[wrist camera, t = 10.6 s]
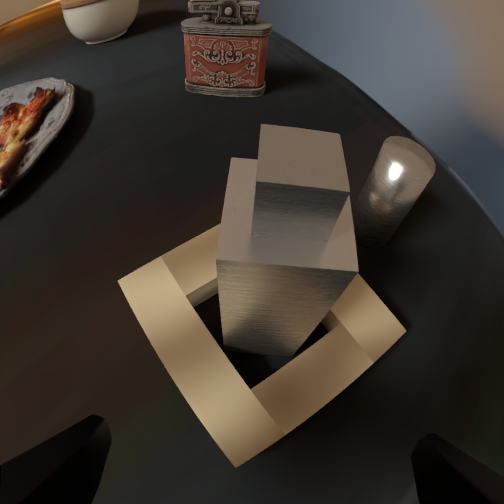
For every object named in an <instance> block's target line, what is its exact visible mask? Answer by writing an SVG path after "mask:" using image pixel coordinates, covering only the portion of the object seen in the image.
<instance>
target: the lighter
mask: <svg viewBox="0 0 504 504" xmlns="http://www.w3.org/2000/svg"><path fill="white" fill-rule="evenodd" d="M188 9H189V12H204V13H203V17H197V18H190V19H186V20H184V21H182V23H181V25H182V31H183V32H184V45H185V62H186V77H187V78H186V79H185V87H186V90H187V91H189V92H194V93H201V94H208V95H218V96H236V97H256V96H260V95H262V94H264V92H265V81H264V76H265V66H266V55H267V45H268V35H269V34H270V33H271V24H270V23H269V22H267V21H262V20H256V18H257V16H258V12H259V3H258V2H252V1H240V0H190V1H189V2H188ZM211 12H218V16H217V17H212V13H211ZM242 13H246V14H247V17H248V18H245V15H244V14H242Z"/></svg>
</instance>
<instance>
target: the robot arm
mask: <svg viewBox="0 0 504 504" xmlns="http://www.w3.org/2000/svg"><path fill="white" fill-rule="evenodd" d="M110 445H111V434H110V430H109V426H108V422H107V419H106V418H104V417H102V416H98V415H94V414H93V415H90V416H88V417H87V418H85V419H83V420H81V421H80V422H78V423H76V424H75V425H73V426H71V427H69V428H68V429H66V430H64V431H62V432H61V433H59V434H57V435H55V436H53V437H52V438H50V439H48V440H46V441H44V442H43V443H41V444H39V445H37V446H35V447H33V448H32V449H30V450H28V451H26V452H24V453H22V454H20V455H19V456H17V457H15V458H13V459H11V460H9V461H7V462H5V463H3V464H2V466H1V465H0V504H92V501H93V499H94V496H95V494H96V492H97V489H98V487H99V484H100V480H101V477H102V473H103V470H104V466H105V462H106V459H107V456H108V452H109V449H110ZM411 461H412V466H413V471H414V477H415V482H416V488H417V494H418V499H419V503H420V504H504V477H503V476H501V475H500V474H498V473H496V472H495V471H493V470H491V469H490V468H488V467H487V466H485V465H483V464H482V463H480V462H479V461H477V460H475V459H474V458H472V457H471V456H469V455H467V454H466V453H464V452H463V451H461V450H460V449H458V448H457V447H455V446H453V445H452V444H450V443H449V442H447V441H446V440H444V439H443V438H441V437H440V436H438V435H437V434H427V435H423V436H422V437H421V438H420V440H419V442H418V443H417V445H416V447H415V449H414V450H413V452H412V456H411Z"/></svg>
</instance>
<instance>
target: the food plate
mask: <svg viewBox="0 0 504 504" xmlns="http://www.w3.org/2000/svg"><path fill="white" fill-rule="evenodd" d="M76 90H77V89H76V87H75V86H74V85H73V84H71V83H68V82H67V81H66V80H64V79H62V80H61V79H60V80H59V79H56V78H54V77H53V78H52V77H50V78H47V79H46V78H44V79H39V80H34V81H30V82H25V83H23V84H20V85H16V86H13V87H11V88H10V87H9V88H6V89H4V90H2V91H1V92H0V115H1V114H3V118H2V120H1V122H0V151H1V149H3V150H2V151H1V152H0V200H1V199H2V198H4V197H5V196H6V195H7V194H8V193H9V191H10V190H11V189H12V188H13V187H14V185H16V184H17V182H19V181H20V180H21V179H22V178H23V177H25V176H26V175H27V174H29V172H30V171H31V169H32V168H33V167H34V165H35V163H36V162H37V161H38V159H39V157H41V155H43V154H44V152H45V151H46V149H47V148H48V147H49V145H50V144H51V143H52V142H53V140H54V139H55V138H56V137H57V135H58V134H59V132H60V131H61V130H62V129H63V128H64V127H65V126H66V125H67V124H68V121H69V119H70V118H71V116H72V113H73V112H74V108H75V107H74V106H75V93H76ZM22 103H23V104H22Z"/></svg>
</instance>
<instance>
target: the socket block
mask: <svg viewBox="0 0 504 504" xmlns="http://www.w3.org/2000/svg"><path fill="white" fill-rule="evenodd" d="M220 227H221V224H219V225H217V226H215V227H213V228H212V229H210V230H208V231H206V232H204V233H202V234H200V235H199V236H197V237H195V238H193V239H191V240H189V241H188V242H186V243H184V244H182V245H180V246H178V247H177V248H175V249H173V250H171V251H169V252H168V253H166V254H164V255H162V256H160V257H159V258H157V259H155V260H153V261H152V262H150V263H148V264H146V265H144V266H143V267H141V268H139V269H137V270H136V271H134V272H132V273H130V274H129V275H127V276H125V277H123V278H122V279H120V280H118V282H119V284H120V286H121V288H122V290H123V292H124V294H125V296H126V298H127V300H128V302H129V304H130V306H131V308H132V310H133V312H134V313H135V315H136V317H137V319H138V321H139V323H140V324H141V326H142V328H143V330H144V332H145V333H146V335H147V337H148V339H149V340H150V342H151V344H152V346H153V347H154V349H155V351H156V353H157V354H158V356H159V358H160V359H161V361H162V363H163V364H164V366H165V367H166V369H167V371H168V372H169V374H170V376H171V377H172V379H173V380H174V382H175V383H176V385H177V387H178V388H179V390H180V391H181V393H182V394H183V396H184V397H185V399H186V400H187V402H188V403H189V405H190V406H191V408H192V409H193V411H194V412H195V414H196V415H197V416H198V418H199V419H200V421H201V422H202V424H203V425H204V426H205V428H206V429H207V431H208V432H209V433H210V435H211V436H212V438H213V439H214V440H215V442H216V443H217V444H218V446H219V447H220V448H221V450H222V451H223V452H224V454H225V455H226V456H227V457H228V459H229V460H230V461H231V463H232V464H233V465H234V466H235V468H236V467H238V466H239V465H241V464H243V463H244V462H246V461H247V460H249V459H251V458H252V457H254V456H255V455H257V454H258V453H260V452H261V451H263V450H264V449H266V448H267V447H269V446H270V445H272V444H273V443H275V442H276V441H278V440H279V439H280V438H282V437H283V436H285V435H286V434H287V433H289V432H290V431H292V430H293V429H294V428H296V427H297V426H298V425H300V424H301V423H302V422H304V421H305V420H306V419H308V418H309V417H310V416H312V415H313V414H314V413H316V412H317V411H318V410H319V409H321V408H322V407H323V406H324V405H326V404H327V403H328V402H329V401H331V400H332V399H333V398H334V397H335V396H337V395H338V394H339V393H340V392H341V391H343V390H344V389H345V388H346V387H347V386H349V385H350V384H351V383H352V382H353V381H354V380H355V379H357V378H358V377H359V376H360V375H361V374H362V373H363V372H364V371H366V370H367V369H368V368H369V367H370V366H371V365H372V364H373V363H374V362H375V361H376V360H377V359H378V358H380V357H381V356H382V355H383V354H384V353H385V352H386V351H387V350H388V349H389V348H390V347H391V346H392V345H393V344H394V343H395V342H396V341H397V340H398V339H399V338H400V337H401V336H402V335H403V334H404V333H405V332H406V330H405V328H404V327H403V326H402V325H401V324H400V322H399V321H398V320H397V319H396V317H395V316H394V315H393V314H392V313H391V311H390V310H389V309H388V308H387V307H386V305H385V304H384V303H383V302H382V301H381V300H380V298H379V297H378V296H377V295H376V294H375V292H374V291H373V290H372V289H371V288H370V287H369V285H368V284H367V283H366V282H365V281H364V280H363V279H362V277H361V276H360V275H359V274H358V273H357V275H356V276H355V277H354V279H353V280H352V281H351V283H350V284H349V285H348V287H347V288H346V289H345V291H344V292H343V293H342V295H341V296H340V297H339V299H338V300H337V301H336V302H335V304H334V305H333V306H332V308H331V309H330V310H329V311H328V313H327V314H326V315H325V317H324V318H323V319H322V320H321V323H322V324H323V325H324V327H325V328H326V329H327V330H328V332H329V333H328V334H326V335H325V336H324V337H323V338H321V339H320V340H319V341H317V342H316V343H315V344H313V345H312V346H311V347H309V348H308V349H307V350H305V351H304V352H303V353H301V354H300V355H299V356H297V357H296V358H295V359H293V360H292V361H291V362H289V363H288V364H286V365H285V366H284V367H282V368H281V369H279V370H278V371H277V372H275V373H274V374H272V375H271V376H269V377H268V378H267V379H265V380H264V381H262V382H261V383H259V384H258V385H256V386H255V387H253V388H252V389H249V387H248V386H247V385H246V383H245V382H244V380H243V379H242V378H241V376H240V375H239V374H238V372H237V371H236V369H235V368H234V367H233V365H232V364H231V362H230V361H229V360H228V358H227V357H226V355H225V354H224V353H223V351H222V350H221V348H220V347H219V345H218V344H217V342H216V341H215V340H214V338H213V337H212V335H211V334H210V332H209V331H208V329H207V328H206V326H205V325H204V323H203V322H202V320H201V319H200V317H199V316H198V314H197V313H196V311H195V310H194V308H193V307H195V306H197V305H198V304H200V303H202V302H203V301H205V300H207V299H208V298H210V297H212V296H213V295H215V294H217V293H218V292H219V291H218V280H217V268H216V254H217V247H218V240H219V234H220Z"/></svg>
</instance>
